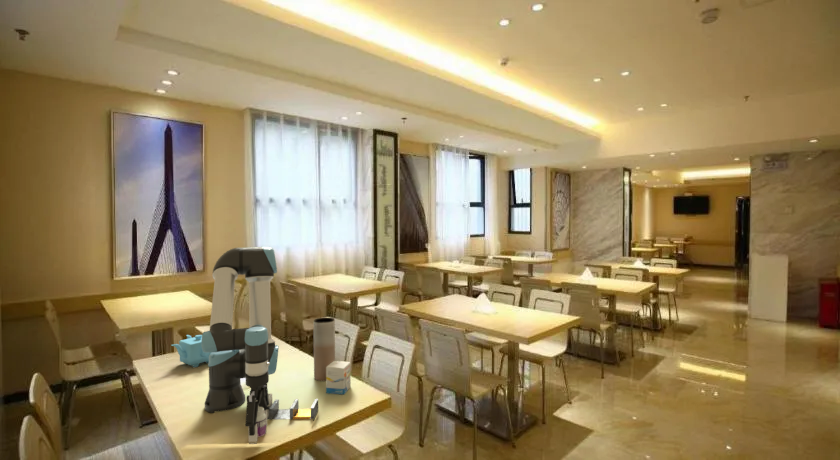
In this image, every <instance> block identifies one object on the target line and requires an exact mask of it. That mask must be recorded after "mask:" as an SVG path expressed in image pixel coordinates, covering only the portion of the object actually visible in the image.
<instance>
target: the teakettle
mask: <svg viewBox="0 0 840 460" xmlns="http://www.w3.org/2000/svg"><path fill="white" fill-rule="evenodd" d="M178 343H179V344H178ZM178 343H175V344H171V346H172V347H175V349H176V350H177V353H178V355H179V362H181V363H184V364H185V365H186V364H188V365H187V366H191V367H192V368H198V367H199V366H200V364H202V363H206V364H209V355H210V354H211V353H212V352H203V350H202V334H196V335H194V336H193V337H192V335H190V334H186V339H181V340H178Z"/></svg>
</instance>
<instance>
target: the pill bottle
mask: <svg viewBox="0 0 840 460" xmlns="http://www.w3.org/2000/svg"><path fill="white" fill-rule="evenodd" d="M256 424H257V438H260V437H263V436H264V435H266V434H267V427H266V414H265V413H264V408H263V407H258V412H257V420H256Z"/></svg>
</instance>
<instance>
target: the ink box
mask: <svg viewBox="0 0 840 460" xmlns="http://www.w3.org/2000/svg"><path fill="white" fill-rule="evenodd" d="M351 379H352V378H351V362H350V361H344V360H335V361H333V362H332V363H331V364H329V365H328V366H327V367H326V381H325V384H326V385H325V391H326V392H325V393H326V394H332V395H346V393H347V392H348V390H350V389H351V383H352V382H351Z"/></svg>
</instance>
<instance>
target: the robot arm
mask: <svg viewBox="0 0 840 460" xmlns="http://www.w3.org/2000/svg"><path fill="white" fill-rule="evenodd" d="M277 273H278V267H277V261H276V255H275V250H274V248H273V247H270V246H253V247H251V246H250V247H249V246H247V247H234V248H230V249H229V250H226V252H224V253H222V255H221V256H220V257H219V258H218V259H217V261H216V262H215V263H214V267H213V269H212V274H211V275H212V278H213V280H214V283H213V294H212V301H211V302H212V303H211V304H212V305H211V312H210V322H209V329H208V330H207V331H203V333H202V334H201V335H202V350H203V352H212V353H211V354H210V355H209V363H207V366H208V391H207V395H206V398H205V402H204V411H206V412H207V413H210V414H214V413H216V412H225V411H230V410H234V409H235V408H238V407H240V406H242V405H243V404H244V403H245V402H246V410H245V411H246V413H245V414H246V415H245V424H244V425H245V427H246V428H248V432H247V433H248V445H257V444H258V443H257V442H258V437H257V424H256V420H257V412H258V405H259V407H263V408H264V413H265V414H266V428H267V426H268V420H267V410H268V409H269V408H270V406H268V405H269V398H268V394H269V391H268V383H269V381H270V378H269V375H273V374H275V373H276V372H277V365H278V356H279V345H277V344H276V341H275V340H274V338H272V311H271V310H272V308H271V307H272V306H271V305H272V303H271V281H272V280H273V279H274V278H275V275H274V274H277ZM240 275H241V276H243V275H244V278H245V280H246V281H247V282H248V291H249V292H248V297H249V298H248V299H249V300H248V301H249V303H248V304H249V305H248V306H249V307H248V311H249V313H248V315H249V316H248V317H249V321H248V322H249V324H248V325H249V327H242V328H241V327H240V328H233V319H234V302H235V301H234V300H235V286H236V281H237V280H238V276H240ZM241 379H245V386H247V387H249V388H250V391H249V395H246V394H245V392H244V389H243V387H242V385H241Z"/></svg>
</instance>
